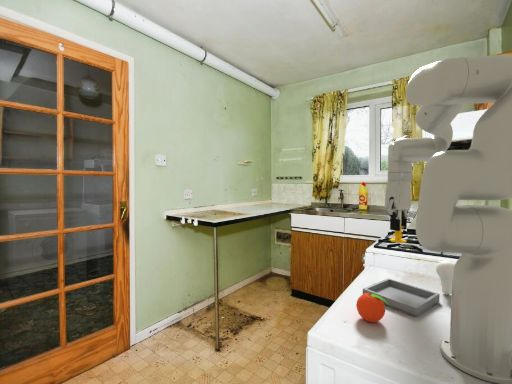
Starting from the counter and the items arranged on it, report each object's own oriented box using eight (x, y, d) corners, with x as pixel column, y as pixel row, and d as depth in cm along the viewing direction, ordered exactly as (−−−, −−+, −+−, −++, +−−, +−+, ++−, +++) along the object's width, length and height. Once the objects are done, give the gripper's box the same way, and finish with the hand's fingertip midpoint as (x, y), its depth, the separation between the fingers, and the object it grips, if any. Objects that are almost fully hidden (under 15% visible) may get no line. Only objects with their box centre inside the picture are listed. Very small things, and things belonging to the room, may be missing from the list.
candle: (405, 240, 94) (406, 197, 93) (407, 243, 89) (408, 197, 89) (389, 239, 96) (390, 196, 96) (390, 242, 91) (391, 197, 91)
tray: (439, 302, 79) (439, 294, 79) (415, 317, 70) (416, 308, 70) (388, 285, 92) (388, 278, 92) (362, 296, 83) (362, 288, 82)
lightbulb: (450, 291, 87) (451, 258, 87) (463, 299, 81) (464, 264, 81) (431, 290, 88) (432, 257, 87) (442, 298, 82) (443, 263, 81)
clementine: (390, 319, 69) (391, 293, 69) (387, 332, 63) (388, 303, 63) (358, 311, 73) (359, 286, 73) (353, 322, 67) (353, 295, 67)
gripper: (400, 178, 100) (399, 226, 100) (376, 177, 90) (375, 230, 91) (421, 178, 94) (420, 229, 94) (398, 177, 84) (397, 233, 85)
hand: (398, 229), depth 92 cm, fingers closed on candle, 3 cm apart
